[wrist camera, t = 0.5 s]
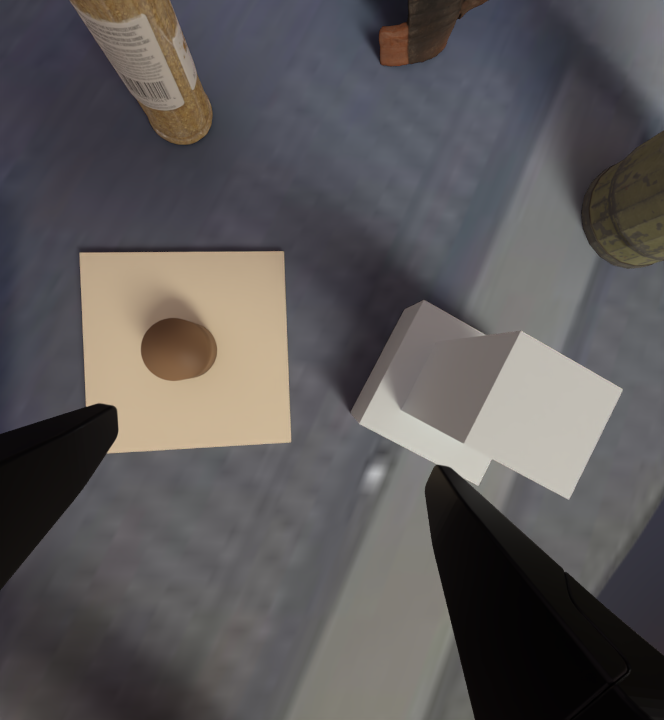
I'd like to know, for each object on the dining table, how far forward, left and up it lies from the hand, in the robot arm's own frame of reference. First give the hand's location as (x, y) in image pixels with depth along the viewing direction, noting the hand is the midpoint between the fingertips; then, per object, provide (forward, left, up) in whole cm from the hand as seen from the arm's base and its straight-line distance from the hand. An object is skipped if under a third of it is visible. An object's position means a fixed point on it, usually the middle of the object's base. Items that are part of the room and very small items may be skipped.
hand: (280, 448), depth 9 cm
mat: (-3, +8, -15) cm, 17 cm away
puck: (-3, +8, -14) cm, 17 cm away
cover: (+7, -7, -15) cm, 18 cm away
